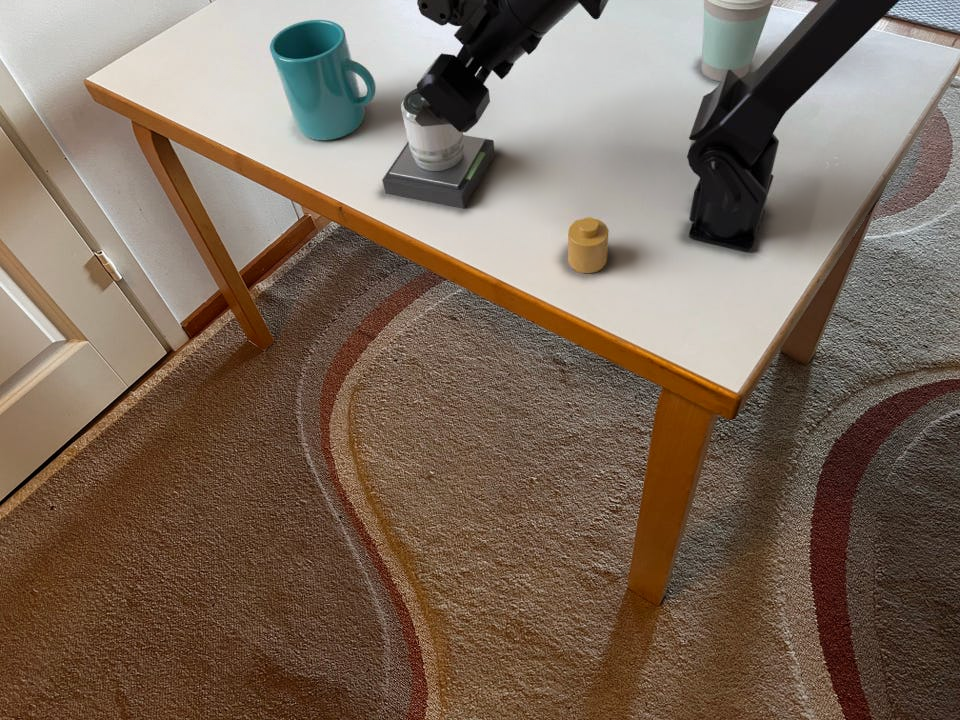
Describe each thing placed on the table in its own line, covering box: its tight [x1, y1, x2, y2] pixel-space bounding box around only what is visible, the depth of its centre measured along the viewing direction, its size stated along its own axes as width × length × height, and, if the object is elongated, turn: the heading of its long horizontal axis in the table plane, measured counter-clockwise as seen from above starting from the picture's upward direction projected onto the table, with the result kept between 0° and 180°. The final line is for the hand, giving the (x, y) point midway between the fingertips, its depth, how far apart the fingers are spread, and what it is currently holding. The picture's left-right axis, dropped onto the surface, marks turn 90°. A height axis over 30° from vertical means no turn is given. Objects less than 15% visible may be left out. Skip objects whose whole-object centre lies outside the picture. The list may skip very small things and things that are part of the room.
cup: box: [269, 19, 377, 141], centre depth 88 cm, size 9×12×11 cm
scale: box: [381, 134, 496, 209], centre depth 84 cm, size 10×10×3 cm
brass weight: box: [567, 216, 610, 274], centre depth 73 cm, size 4×4×5 cm
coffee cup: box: [700, 0, 774, 82], centre depth 87 cm, size 8×8×12 cm
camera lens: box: [400, 87, 464, 171], centre depth 80 cm, size 6×6×8 cm
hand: (436, 96), depth 76 cm, fingers open, 9 cm apart
